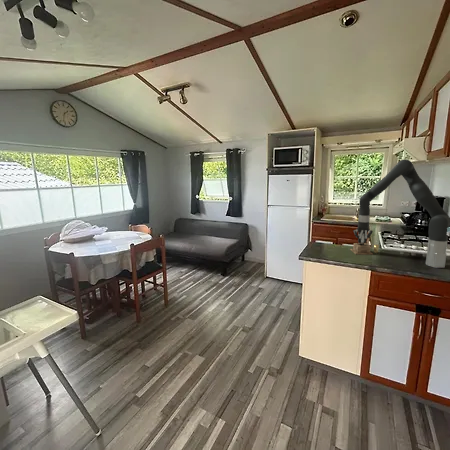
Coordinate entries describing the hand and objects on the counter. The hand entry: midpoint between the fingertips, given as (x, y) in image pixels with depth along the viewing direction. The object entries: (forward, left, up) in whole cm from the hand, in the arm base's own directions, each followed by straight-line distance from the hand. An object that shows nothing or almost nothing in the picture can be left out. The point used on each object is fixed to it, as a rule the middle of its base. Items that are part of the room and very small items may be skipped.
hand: (362, 242), depth 194 cm
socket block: (0, 0, -7) cm, 7 cm away
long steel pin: (0, 0, -4) cm, 4 cm away
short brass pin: (0, -11, -8) cm, 13 cm away
